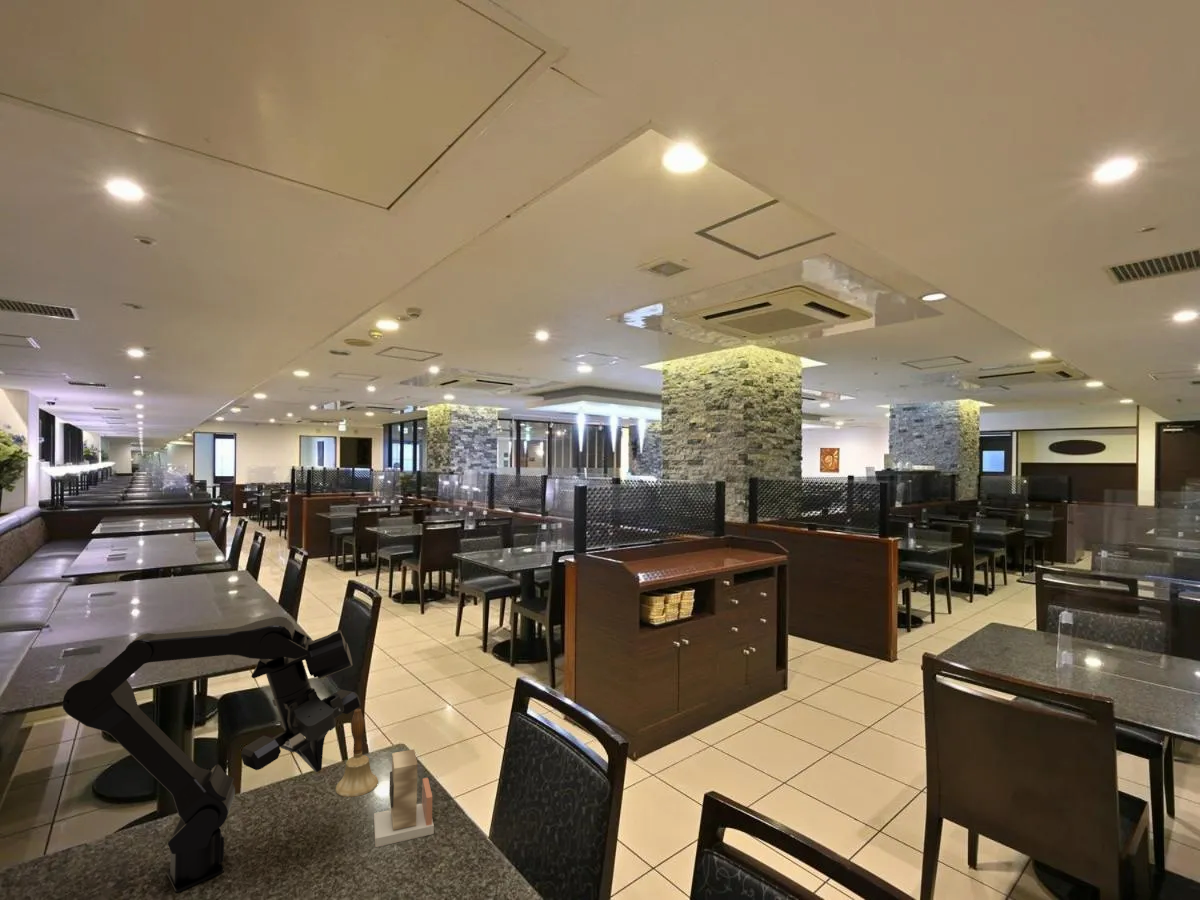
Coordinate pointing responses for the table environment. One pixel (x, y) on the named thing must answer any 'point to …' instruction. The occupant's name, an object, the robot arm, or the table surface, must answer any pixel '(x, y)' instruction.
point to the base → (422, 827)
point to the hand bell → (357, 765)
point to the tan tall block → (403, 789)
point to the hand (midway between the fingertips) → (318, 770)
